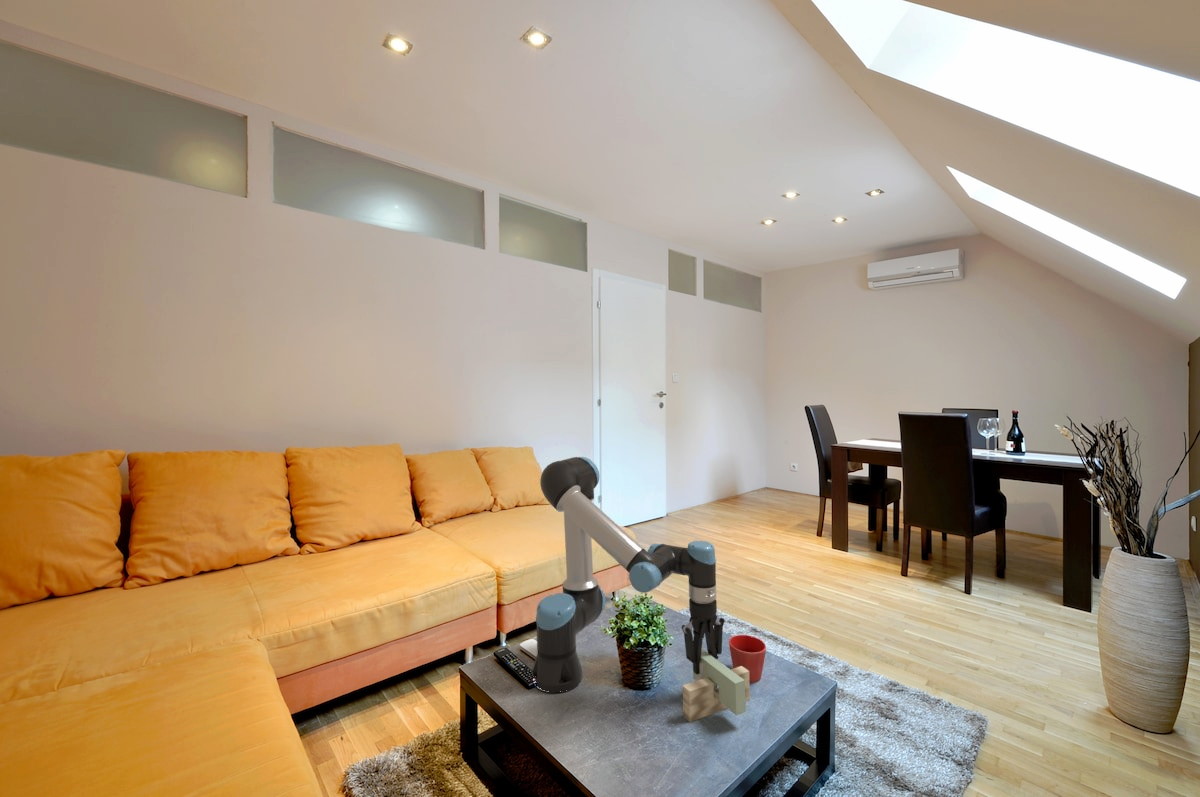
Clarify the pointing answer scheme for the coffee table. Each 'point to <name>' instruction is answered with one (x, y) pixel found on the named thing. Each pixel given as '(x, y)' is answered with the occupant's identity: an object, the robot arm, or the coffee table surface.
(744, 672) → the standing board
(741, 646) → the flower pot
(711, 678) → the cross piece
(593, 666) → the coffee table surface
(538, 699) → the coffee table surface
